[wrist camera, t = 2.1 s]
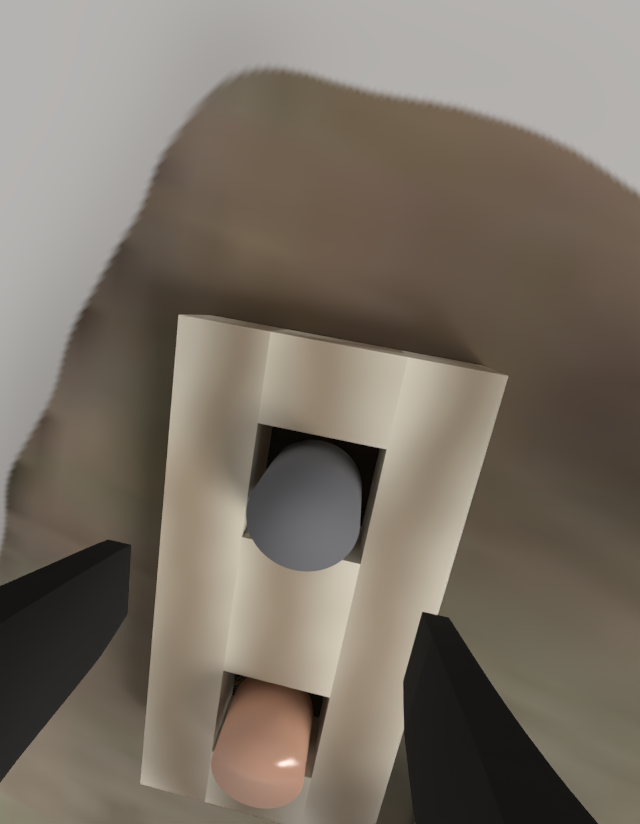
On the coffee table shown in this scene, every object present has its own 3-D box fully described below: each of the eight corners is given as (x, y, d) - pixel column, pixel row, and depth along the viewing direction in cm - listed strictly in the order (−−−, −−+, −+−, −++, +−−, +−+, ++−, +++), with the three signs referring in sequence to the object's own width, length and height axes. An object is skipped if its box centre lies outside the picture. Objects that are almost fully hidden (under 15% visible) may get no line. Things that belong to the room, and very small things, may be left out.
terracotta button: (319, 683, 19) (310, 749, 16) (306, 746, 20) (295, 818, 17) (239, 663, 19) (216, 724, 16) (229, 725, 20) (206, 793, 17)
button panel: (484, 365, 17) (508, 375, 14) (368, 780, 23) (368, 848, 20) (210, 315, 18) (178, 314, 15) (168, 726, 24) (140, 783, 21)
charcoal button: (370, 450, 16) (370, 479, 13) (351, 537, 17) (347, 582, 14) (274, 430, 16) (253, 455, 13) (261, 517, 17) (239, 557, 14)
